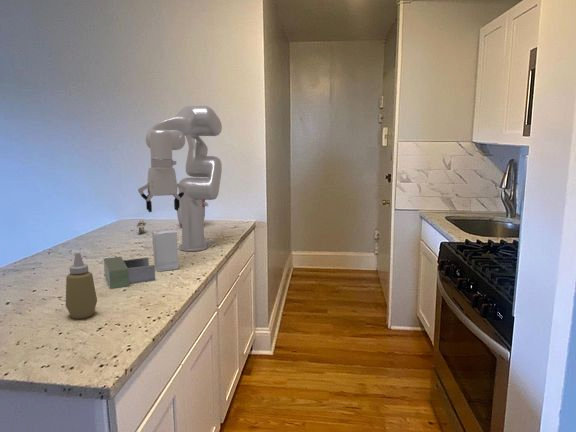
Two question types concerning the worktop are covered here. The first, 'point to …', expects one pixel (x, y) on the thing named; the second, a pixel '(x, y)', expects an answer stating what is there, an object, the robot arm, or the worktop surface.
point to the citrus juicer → (180, 210)
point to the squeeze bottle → (80, 290)
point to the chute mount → (127, 271)
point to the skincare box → (165, 250)
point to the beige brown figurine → (141, 226)
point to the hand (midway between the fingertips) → (163, 210)
